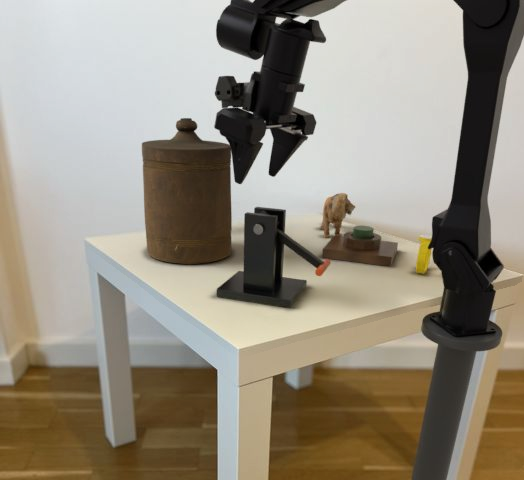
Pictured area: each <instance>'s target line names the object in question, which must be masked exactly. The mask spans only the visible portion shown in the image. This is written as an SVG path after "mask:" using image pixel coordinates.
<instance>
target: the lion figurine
mask: <svg viewBox="0 0 524 480" xmlns="http://www.w3.org/2000/svg"><path fill="white" fill-rule="evenodd" d="M355 209H356V205H354V204H353V203H352V202H351V200H350V199H348V194H347V193H345V192H339V193H336V194H334V195H333V196H332V195H331V196H329V197H327V198H326V199H325V201H324V204H323V211H322V222H321V224H320V226H319V227H318V228H319V230H324V233H323V234H322V237H323V238H329V237H330V233H331V232H330V225H331V226H332V227H333V228H335V230H334V235H337V236H343V234H342V233H341V228H342V224H343V220H344V219H346V216H347V215H349V216H352V214H353V213H352V212H353V211H354V210H355Z"/></svg>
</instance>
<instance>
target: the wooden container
mask: <svg viewBox="0 0 524 480" xmlns="http://www.w3.org/2000/svg"><path fill="white" fill-rule="evenodd" d="M175 128H176V130H177V132H176V133H175V135H174V136H173V137H172V138H170V139H155V140H147V141H143V142H142V143H141V156H142V181H143V185H142V186H143V207H144V209H143V211H144V227H145V229H144V230H145V239H146V252H147V254H148V255H149V256H150V257H151V258H153V259H155V260H157V261H161V262H164V263H170V264H181V265H182V264H183V265H194V264H195V265H196V264H197V265H198V264H208V263H213V262H218V261H221V260H224V259H225V258H227V257H229V256H230V255H231V254H232V224H233V223H232V221H233V219H232V217H233V216H232V215H233V214H232V178H231V177H232V172H231V171H232V169H231V168H232V167H231V166H232V164H231V163H232V153H231V148H230V144H229V143H227V142H220V141H213V140H203V139H202V138H200V137H199V136H198V135H197V132H196V131H197V129H198V124H197V122H196V121H195V120H193V119H192V118H191V117H182V118H180V120H177V121H176V123H175Z"/></svg>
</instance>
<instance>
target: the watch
mask: <svg viewBox="0 0 524 480" xmlns="http://www.w3.org/2000/svg"><path fill="white" fill-rule="evenodd" d="M417 239H418V241H419V242H420V245H419V248H418V253H417V256H416V262H415V263H416V264H415V273H416V274H423V275H424V274H426V272H427V270H428V267H429V264H430V260H431V255H432V251H433V248H431V249H428V246H429V244H430V242H431V239H432V234H419V235H418V237H417Z"/></svg>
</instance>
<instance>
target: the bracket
mask: <svg viewBox="0 0 524 480" xmlns="http://www.w3.org/2000/svg"><path fill="white" fill-rule="evenodd" d="M262 211H266V212H267V213H268V214H270V215H267V214H259V213H261V212H262ZM286 215H287V209H282V208H272V207H265V206H264V207H263V206H255V207H254V212H245V213H244V216H243V217H244V219H243V221H244V222H243V223H244V224H243V270H238V271H237V272H236V273H234V274H233V275H232V276H231V277H230V278H228V279H227V280H226V281H225V282H224V283H222V284H221V285H220V286H218V287H217V288H216V297H217V298H221V299H222V298H223V299H230V300H235V301H242V302H247V303H248V302H249V303H254V304H261V305H267V306H273V307H278V308H279V307H280V308H286V309H291V308H292V307H293V306H294V304H295V303H296V301H297V300H298V299H299V298H300V297H301V295H302V294H303V292H304V291H305V290H306V289H307V287H308V286H307V285H308V281H307V279H300V278H292V277H287V276H283V273H284V254H285V245H284V244H283V243H282V242H280V241H279V240H278V239H277V228H278V229H280V230H281V231H282V232H284V233H285V234H286ZM277 220H278V221H279V222H280V223H279V224H278V226H277Z"/></svg>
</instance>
